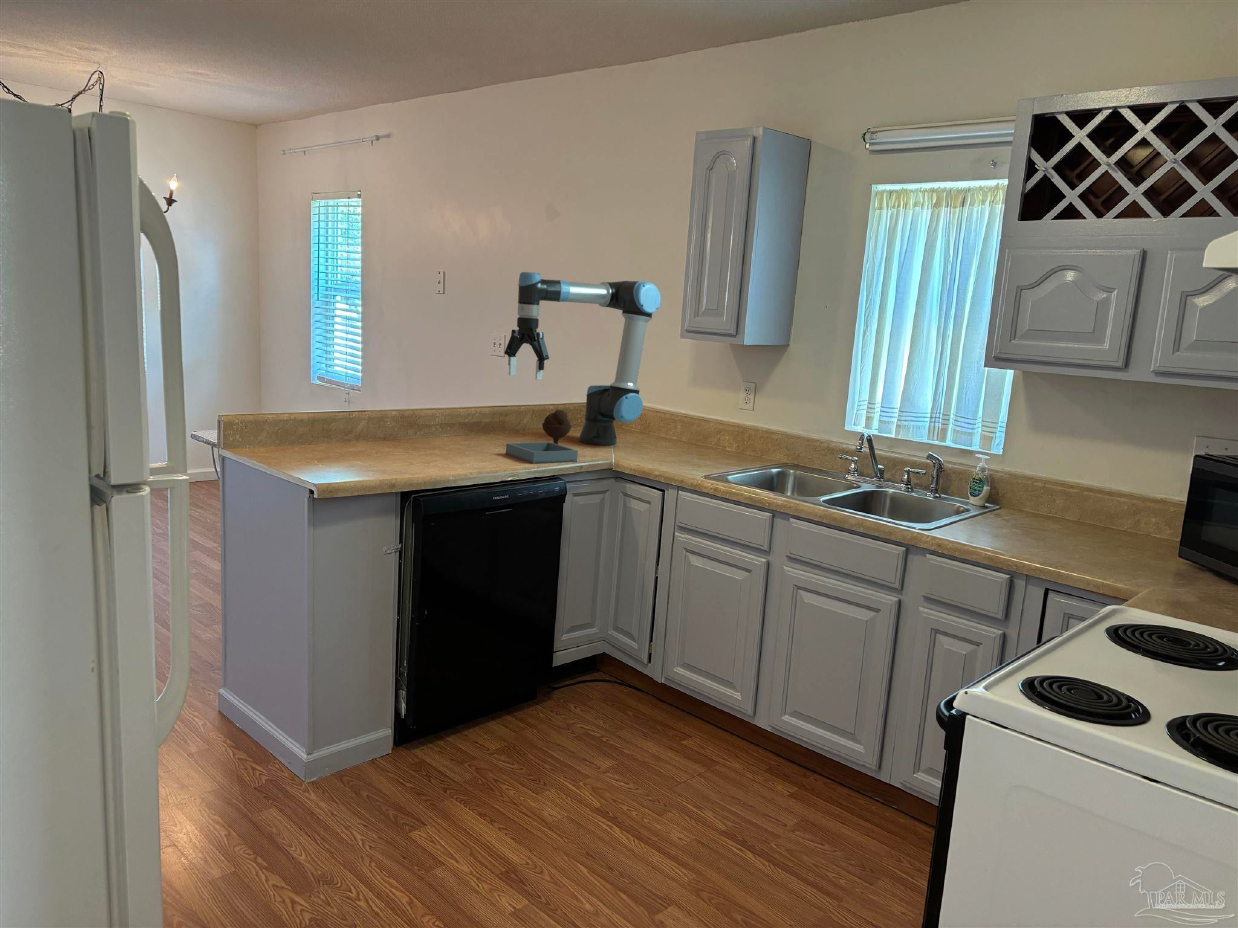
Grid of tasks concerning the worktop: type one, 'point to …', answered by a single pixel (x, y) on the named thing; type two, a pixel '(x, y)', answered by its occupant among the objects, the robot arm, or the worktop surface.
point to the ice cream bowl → (556, 425)
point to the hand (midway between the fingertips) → (525, 377)
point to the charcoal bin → (541, 452)
